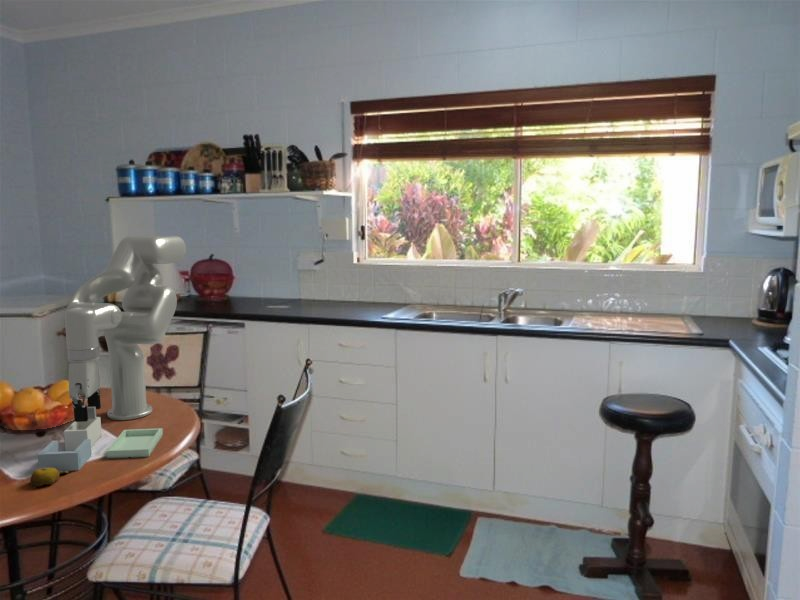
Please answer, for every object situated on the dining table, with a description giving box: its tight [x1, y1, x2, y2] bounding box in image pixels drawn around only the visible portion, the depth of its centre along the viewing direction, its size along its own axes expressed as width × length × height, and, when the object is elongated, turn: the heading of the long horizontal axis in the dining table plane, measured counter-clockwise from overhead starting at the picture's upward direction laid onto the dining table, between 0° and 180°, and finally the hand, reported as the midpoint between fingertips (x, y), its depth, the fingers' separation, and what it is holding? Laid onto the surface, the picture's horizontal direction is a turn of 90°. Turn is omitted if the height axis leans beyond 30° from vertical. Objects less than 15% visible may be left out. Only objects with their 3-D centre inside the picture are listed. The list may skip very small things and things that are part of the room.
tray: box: [105, 427, 164, 460], centre depth 162 cm, size 15×10×2 cm
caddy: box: [63, 406, 103, 451], centre depth 162 cm, size 10×6×9 cm, turn 8°
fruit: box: [29, 468, 69, 489], centre depth 142 cm, size 8×8×4 cm
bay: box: [37, 439, 93, 472], centre depth 150 cm, size 9×9×4 cm
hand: (88, 414), depth 166 cm, fingers open, 9 cm apart
